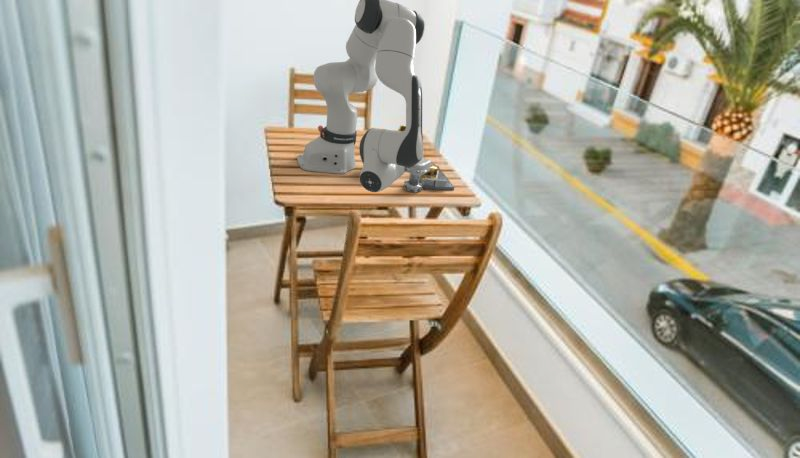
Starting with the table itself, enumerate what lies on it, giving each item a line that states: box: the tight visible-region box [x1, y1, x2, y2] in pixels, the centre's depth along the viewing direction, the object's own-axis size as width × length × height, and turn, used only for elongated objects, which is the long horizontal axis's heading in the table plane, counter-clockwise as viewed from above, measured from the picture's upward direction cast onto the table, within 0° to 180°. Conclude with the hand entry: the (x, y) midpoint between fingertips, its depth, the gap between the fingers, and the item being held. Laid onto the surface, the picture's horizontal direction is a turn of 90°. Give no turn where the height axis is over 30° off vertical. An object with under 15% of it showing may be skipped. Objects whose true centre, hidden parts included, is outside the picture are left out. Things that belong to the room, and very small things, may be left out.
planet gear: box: [403, 173, 423, 194], centre depth 190 cm, size 7×7×11 cm
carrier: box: [419, 167, 455, 191], centre depth 202 cm, size 12×17×4 cm
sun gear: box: [425, 162, 440, 175], centre depth 206 cm, size 8×8×4 cm
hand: (408, 152), depth 174 cm, fingers open, 8 cm apart
